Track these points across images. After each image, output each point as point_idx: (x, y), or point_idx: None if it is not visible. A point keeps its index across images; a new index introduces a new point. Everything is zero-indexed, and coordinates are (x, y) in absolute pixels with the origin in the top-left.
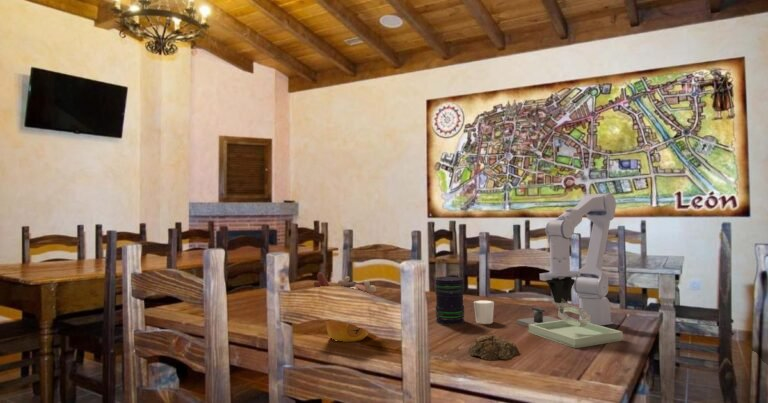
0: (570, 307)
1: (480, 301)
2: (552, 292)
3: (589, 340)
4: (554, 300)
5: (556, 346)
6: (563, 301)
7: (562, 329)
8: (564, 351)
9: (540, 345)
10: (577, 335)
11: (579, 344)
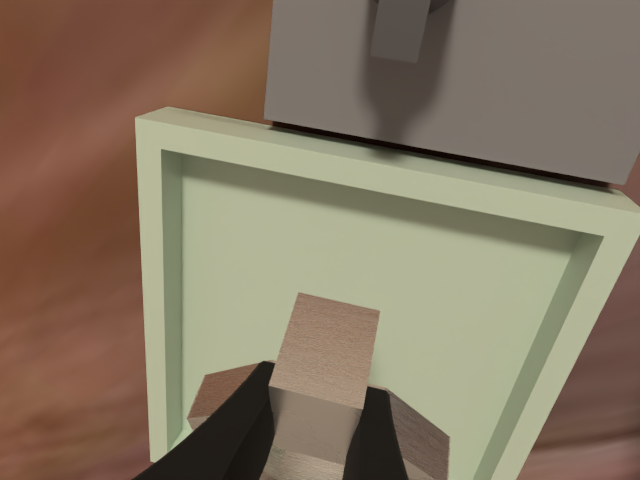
0: None
1: None
2: (189, 445)
3: None
4: (253, 373)
5: (121, 366)
6: (308, 446)
7: (374, 250)
8: (103, 416)
9: (64, 315)
10: None
11: None
